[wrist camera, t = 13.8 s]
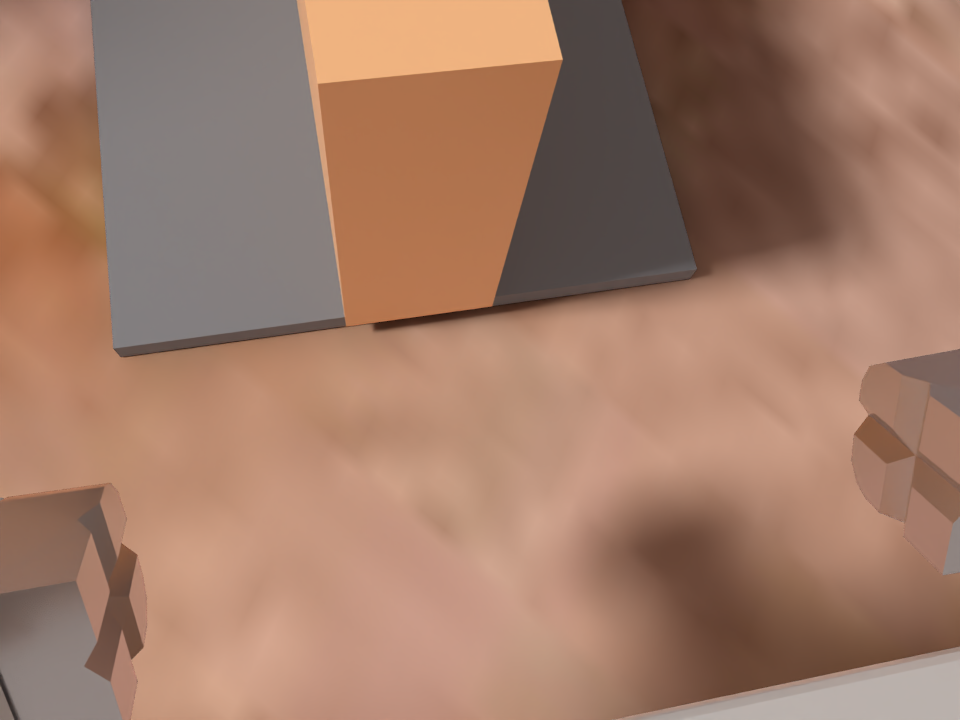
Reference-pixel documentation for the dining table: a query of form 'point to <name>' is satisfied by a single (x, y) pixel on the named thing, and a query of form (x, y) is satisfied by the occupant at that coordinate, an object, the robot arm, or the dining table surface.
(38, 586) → the robot arm
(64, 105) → the dining table surface
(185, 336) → the mat
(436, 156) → the plug
